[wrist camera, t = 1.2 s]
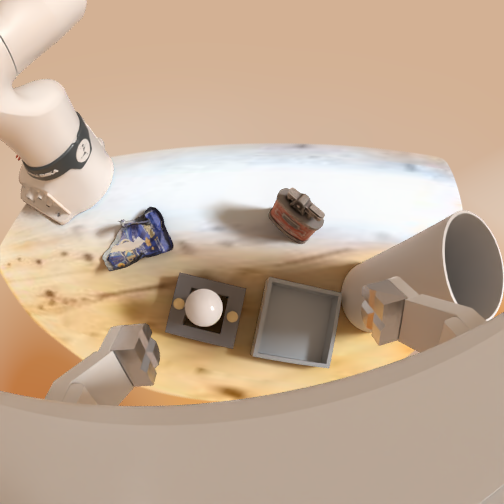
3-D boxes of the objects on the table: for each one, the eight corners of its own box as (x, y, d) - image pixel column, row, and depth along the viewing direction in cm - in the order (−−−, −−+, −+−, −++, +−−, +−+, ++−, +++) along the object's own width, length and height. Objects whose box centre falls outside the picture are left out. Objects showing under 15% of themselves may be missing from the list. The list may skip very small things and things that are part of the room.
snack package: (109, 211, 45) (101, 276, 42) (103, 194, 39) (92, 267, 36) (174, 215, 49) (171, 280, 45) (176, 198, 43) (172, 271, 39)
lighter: (264, 217, 48) (276, 190, 38) (276, 204, 49) (290, 175, 39) (300, 248, 47) (321, 228, 38) (312, 234, 48) (334, 211, 39)
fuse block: (168, 331, 41) (164, 332, 37) (182, 276, 43) (179, 271, 40) (231, 347, 42) (233, 349, 38) (244, 291, 44) (246, 288, 41)
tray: (250, 354, 42) (252, 356, 39) (265, 280, 45) (269, 276, 42) (322, 366, 42) (329, 368, 39) (334, 295, 46) (342, 293, 43)
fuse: (188, 322, 42) (180, 321, 33) (195, 293, 43) (189, 284, 34) (217, 329, 42) (218, 330, 33) (224, 300, 43) (226, 293, 34)
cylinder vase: (348, 341, 44) (458, 343, 20) (331, 271, 47) (426, 217, 23) (403, 319, 46) (511, 302, 22) (387, 256, 49) (485, 205, 25)
